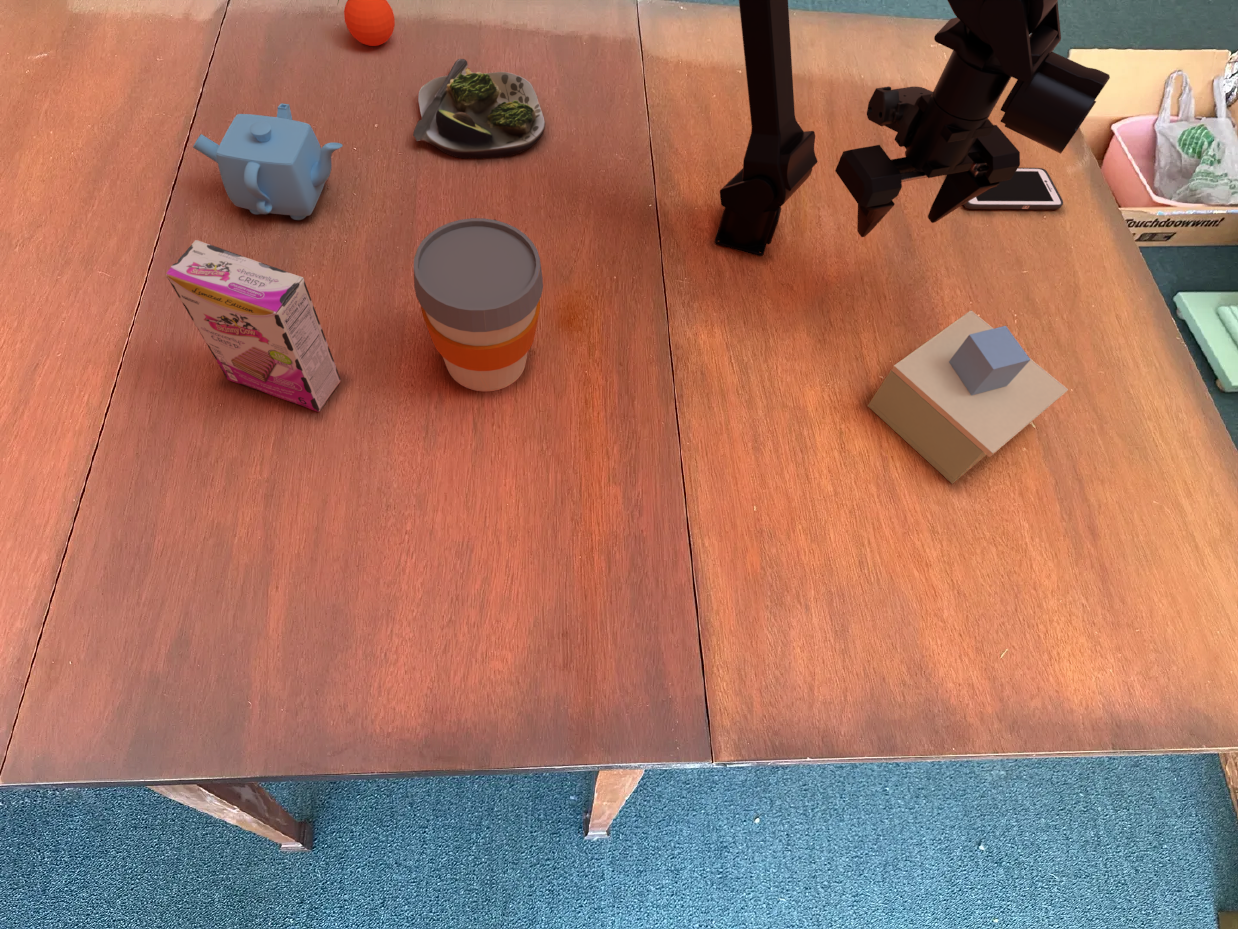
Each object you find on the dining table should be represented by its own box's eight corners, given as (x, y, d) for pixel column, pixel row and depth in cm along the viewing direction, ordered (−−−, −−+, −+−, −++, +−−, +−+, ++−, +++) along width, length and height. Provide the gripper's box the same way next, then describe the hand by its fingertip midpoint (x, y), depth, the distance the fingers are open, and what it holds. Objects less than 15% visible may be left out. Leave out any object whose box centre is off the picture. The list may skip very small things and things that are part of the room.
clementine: (335, 49, 112) (323, -1, 106) (351, 22, 116) (341, -28, 110) (389, 59, 112) (381, 10, 106) (404, 32, 116) (397, -17, 110)
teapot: (194, 223, 93) (159, 152, 85) (234, 146, 100) (206, 74, 92) (344, 243, 94) (325, 175, 85) (374, 166, 101) (359, 96, 92)
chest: (1024, 423, 90) (1058, 388, 84) (952, 484, 85) (983, 452, 79) (940, 351, 94) (967, 314, 88) (867, 405, 89) (890, 370, 83)
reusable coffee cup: (493, 298, 92) (486, 198, 79) (565, 364, 88) (570, 269, 75) (405, 353, 87) (383, 255, 74) (478, 425, 83) (467, 334, 70)
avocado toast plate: (404, 73, 111) (399, 42, 107) (528, 67, 114) (528, 36, 110) (417, 164, 102) (412, 134, 98) (551, 155, 105) (552, 125, 101)
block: (971, 395, 81) (993, 369, 77) (948, 361, 83) (969, 334, 79) (1007, 386, 82) (1031, 359, 78) (983, 352, 84) (1005, 325, 80)
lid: (1064, 393, 84) (1068, 389, 83) (989, 457, 79) (993, 453, 78) (967, 314, 88) (971, 309, 88) (890, 369, 83) (893, 365, 82)
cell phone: (947, 171, 111) (950, 166, 110) (1041, 172, 113) (1045, 167, 112) (964, 210, 107) (967, 204, 106) (1062, 210, 109) (1066, 205, 108)
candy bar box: (224, 382, 83) (160, 273, 68) (251, 348, 85) (194, 235, 71) (320, 416, 82) (275, 312, 67) (344, 380, 84) (305, 273, 70)
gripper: (996, 39, 79) (929, 166, 93) (837, 61, 75) (791, 191, 88) (1060, 108, 74) (980, 231, 88) (894, 136, 70) (836, 262, 83)
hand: (896, 227), depth 87 cm, fingers open, 9 cm apart
